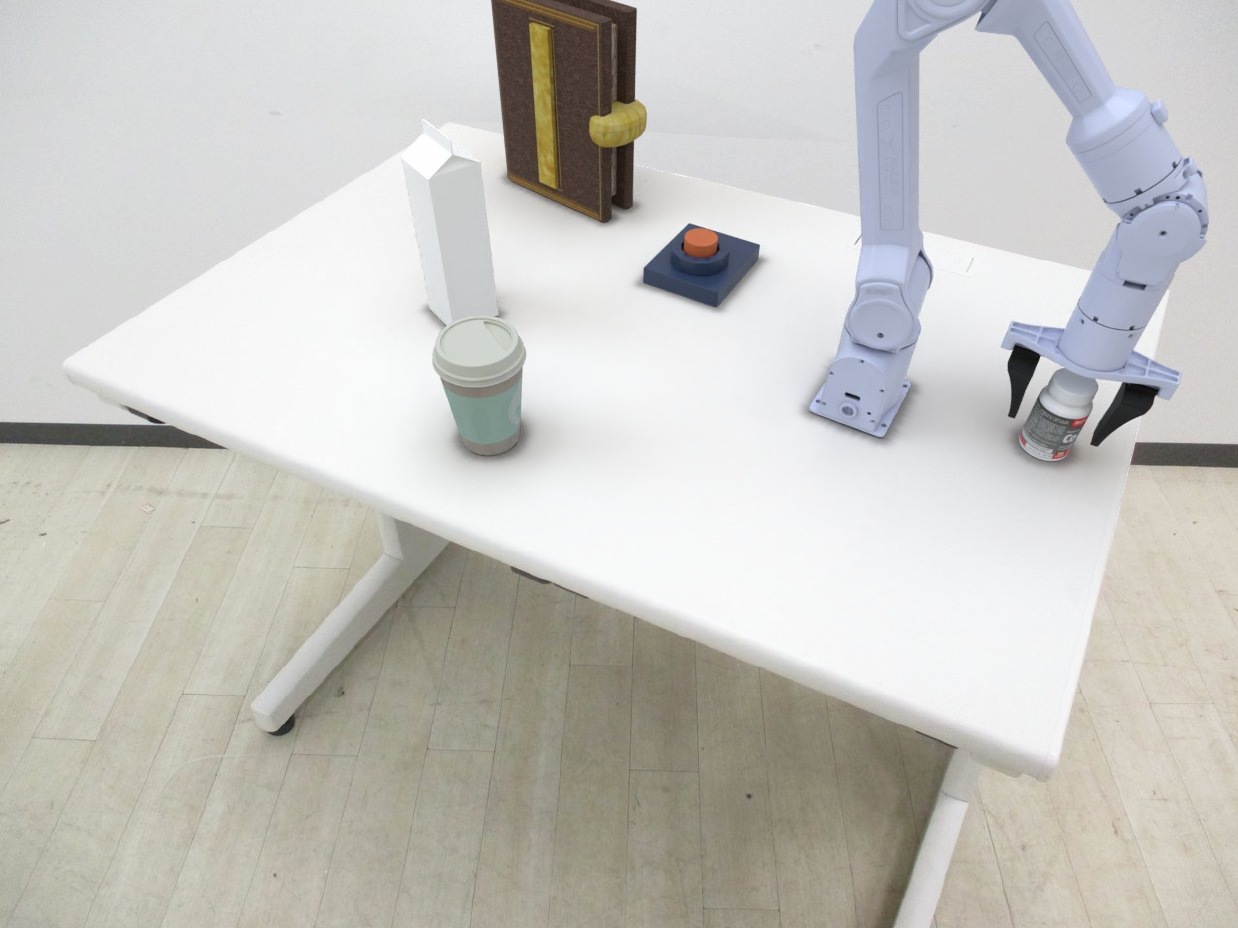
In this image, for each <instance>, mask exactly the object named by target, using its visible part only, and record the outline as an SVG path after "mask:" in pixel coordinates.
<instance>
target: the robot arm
mask: <svg viewBox="0 0 1238 928" xmlns="http://www.w3.org/2000/svg"><path fill="white" fill-rule="evenodd" d="M979 12H981V14H980V16H979V18H978V20H977V23H976V24H975V27H974V31H977V32H979V33H986V34H987V33H988V34H997V35H1006V36H1012V37H1014V38H1016V40H1017V41H1018V42H1019V44H1020V45H1021V47H1022V48H1023V50H1024V51H1025V52H1026V55H1028V57H1029V58H1030V59H1031V61H1032V62H1033V64H1034V65H1035V66H1036V68H1037V69H1038V71H1039V72H1040V73H1041V75H1042V76H1043V78H1044V79H1045V81H1046V82H1047V84H1049V86H1050V88H1051V89H1052V90H1053V92H1054V93H1055V94H1056V96H1057V98H1058V99H1059V100H1060V101H1061V103H1062V104H1063V106H1064V107H1065V108H1066V110H1067V111H1068V113H1069V114H1070V116H1071V117H1072V120H1071V123H1070V125H1069V127H1068V130H1067V133H1066V135H1065V143H1066V145H1067V147H1068V148H1069V150H1070V152H1071V153H1072V155H1073V156H1074V158H1075V160H1076V161H1077V162H1078V164H1079V166H1080V167H1081V169H1082V170H1083V172H1084V173H1085V175H1086V176H1087V179H1088V181H1090V183H1091V184H1092V186H1093V188H1094V189H1095V191H1096V192H1097V194H1098V196H1099V197H1100V199H1101V200H1102V203H1104V205H1105V206H1106V207H1107V208H1108V209H1109V210H1110V211H1112V212H1113V213H1115V215H1117V216H1118V217H1119V218H1120V222H1118V223H1117V224H1116V226H1115V228H1114V230H1113V231H1112V234H1111V236H1110V238H1109V240H1108V242H1107V245H1106V246H1105V248H1104V249H1103V250H1102V251H1101V253H1100V254H1099V257H1098V258H1097V261H1096V262H1095V265H1094V266H1093V269H1092V271H1091V273H1090V275H1089V277H1088V280H1087V281H1086V283H1085V286H1084V288H1083V290H1082V292H1081V294H1080V296H1079V298H1078V300H1077V302H1076V305H1075V307H1074V309H1073V311H1072V312H1071V315H1070V317H1069V319H1068V321H1067V323H1066V326H1064V328H1063V327H1055V326H1046V325H1038V324H1037V325H1036V324H1030V323H1024V322H1020V321H1017V320H1016V321H1015V320H1011V321H1010V324H1009V326H1008V328H1007V330H1006V333H1005V334H1004V337H1003V339H1002V341H1001V342H1002V343H1001V344H1000V349H1004V350H1007V351H1011V352H1010V355H1009V358H1008V360H1007V369H1006V370H1007V374H1008V378H1009V383H1010V405H1009V410H1008V413H1007V417H1008V418H1011V419H1013V420H1015V419H1016V417H1017V415H1018V413H1019V410H1020V408H1021V405H1022V403H1023V400H1024V397H1025V394H1026V391H1027V389H1028V387H1029V385H1030V383H1031V381H1032V379H1033V377H1034V374H1035V372H1036V369H1037V366H1038V364H1039V362H1040V360H1041V357H1042V358H1045V359H1048V360H1050V361H1052V362H1053V363H1055V364H1057V365H1059V366H1061V367H1062V368H1066V369H1068V370H1070V371H1072V372H1074V373H1076V374H1078V375H1081V376H1084V377H1088V378H1093V379H1095V380H1102V381H1109V382H1118V383H1120V387H1119V389H1118V390H1117V392H1116V394H1115V396H1114V398H1113V399H1112V402H1111V403H1110V405H1109V407H1108V408H1107V409H1106V411H1105V412H1104V414H1103V415H1102V417H1101V418H1100V420H1099V421H1098V422H1097V425H1096V427H1095V429H1094V431H1093V433H1092V437H1091V440H1090V444H1089V445H1090V446H1093V447H1095V448H1098V447H1099V446H1100V445H1101V444H1102V443H1103V442H1104V440H1106V439H1107V438H1108V437H1109V436H1110V435H1111V434H1112V433H1114V432H1116V431H1117V430H1118V429H1119V428H1121V427H1122V426H1124V425H1125V424H1127V423H1128V422H1131V421H1132V420H1134V419H1137V418H1139V417H1142V416H1144V415H1146V414H1147V413H1148V412H1149V411H1150V410H1151V409H1152V407H1153V406H1154V404H1155V403H1154V402H1155V398H1156V397H1157V398H1159V399H1161V400H1166V401H1170V400H1171V399H1172V397H1173V396H1174V394H1175V392H1176V391H1177V390H1178V387H1179V386H1180V384H1181V379H1182V374H1183V372H1182V371H1180V370H1177V369H1175V368H1172V367H1170V366H1167V365H1164V364H1162V363H1160V362H1158V361H1156V360H1154V359H1152V358H1150V357H1148V356H1146V355H1145V354H1143V353H1140V352H1138V351H1137V350H1136V349H1135V348H1136V346H1137V345H1138V342H1139V341H1140V339H1141V337H1142V335H1143V334H1144V332H1145V330H1146V328H1147V327H1148V325H1149V323H1150V321H1151V320H1152V318H1153V316H1154V314H1155V312H1156V311H1157V309H1158V307H1159V306H1160V303H1161V302H1162V300H1163V298H1164V296H1165V294H1166V292H1167V291H1168V289H1169V288H1170V285H1171V284H1172V282H1173V280H1174V278H1175V274H1176V272H1177V270H1178V268H1179V266H1180V265H1181V263H1184V262H1186V261H1188V260H1189V259H1191V258H1192V257H1195V255H1197V254H1198V253H1199V252H1200V251H1201V250H1203V248H1204V246H1205V245H1206V244H1207V242H1208V240H1207V239H1206V237H1205V236H1206V235H1207V232H1208V230H1209V224H1210V220H1209V217H1210V216H1209V204H1208V203H1209V201H1208V190H1207V186H1206V183H1205V180H1204V179H1203V175H1204V174H1203V171H1202V169H1201V168H1199V167H1198V165H1197V163H1196V161H1195V159H1194V158H1193V157H1192V156H1187V157H1185V158H1184V157H1183V154H1182V153H1181V152H1180V149H1178V146H1177V145H1176V143H1175V141H1174V140H1173V138H1172V136H1171V135H1170V133H1169V131H1168V130H1167V127H1166V126H1165V124H1164V123H1166V122H1168V120H1169V110H1168V109H1167V107H1166V105H1165V103H1164V102H1163V99H1157V100H1155V101H1153V102H1151V101H1150V99H1149V98H1148V96H1147V94H1146V93H1145V92H1144V91H1143V90H1141V89H1136V88H1130V87H1123V86H1119V85H1116V84H1115V82H1114V80H1113V78H1112V76H1111V74H1110V73H1109V71H1108V69H1107V67H1106V65H1105V63H1104V62H1103V59H1102V58H1101V55H1100V54H1099V52H1098V50H1097V48H1096V47H1095V45H1094V43H1093V41H1092V39H1091V37H1090V36H1089V33H1088V32H1087V30H1086V29H1085V28H1086V27H1085V26H1084V24H1083V22H1082V20H1081V18H1080V17H1079V15H1078V13H1077V12H1076V9H1075V8H1074V5H1073V4H1072V2H1071V1H1070V0H873V2H872V3H871V4H870V7H869V8H868V10H867V12H866V14H865V16H864V17H863V19H862V21H861V22H860V24H859V26H858V28H857V29H856V32H855V33H854V37H853V46H852V47H853V49H852V50H853V71H854V95H855V96H854V97H855V116H856V117H855V118H856V119H855V121H856V143H857V145H856V146H857V165H858V186H859V187H858V189H859V190H858V191H859V213H860V214H859V215H860V216H859V217H860V235H861V236H860V237H861V246H860V253H859V258H858V263H857V267H856V268H857V269H856V275H855V281H854V285H855V293H854V297H853V300H852V301H851V303H850V305H849V307H848V309H847V311H846V315H845V317H844V322H843V325H842V330H841V334H840V338H839V343H838V347H837V351H836V354H835V357H834V358H833V360H832V361H831V363H830V365H829V367H828V370H827V372H826V373H827V374H826V378H825V382H824V383H823V385H822V386H821V387H820V389H819V391H818V392H817V394H816V395H815V397H814V398H813V400H812V402H811V404H810V405H809V409H808V410H809V411H810V412H811V413H813V414H815V415H818V416H821V417H824V418H826V419H830V420H832V421H835V422H837V423H840V424H842V425H845V426H847V427H851V428H853V429H856V430H859V431H862V432H864V433H867V434H870V435H873V436H875V437H878V438H884V437H885V435H886V433H887V432H888V430H889V428H890V426H891V425H892V423H893V420H894V419H895V417H896V415H897V413H898V412H899V410H900V407H901V406H902V404H903V402H904V400H905V398H906V396H907V394H908V392H909V391H910V389H911V386H912V383H911V382H910V381H909V380H906V377H907V373H908V371H909V368H910V364H911V362H912V360H913V356H914V353H915V350H916V347H917V344H918V341H919V337H920V335H921V332H922V331H921V330H922V324H921V322H920V318H919V317H920V313H921V310H922V308H923V304H924V303H925V302H924V301H925V298H926V295H927V292H928V290H929V289H930V288H931V286H932V283H933V281H934V267H933V264H932V261H931V260H930V258H929V257H928V255H927V253H926V250H925V247H924V233H923V231H922V230H921V229H920V227H919V226H920V223H919V222H920V220H919V219H920V216H919V215H920V53H921V52H922V51H923V50H924V49H926V48H927V46H928V45H930V44H931V42H933V40H935V38H937V37H938V35H939V34H941V33H942V32H943V33H944V32H945V31H947V30H950V29H951V28H954V27H955V26H957V25H959V24H962V23H964V22H965V21H967V20H968V19H969V20H970V18H972V17H974V16H975V15H977V14H978V13H979ZM1134 349H1135V350H1134Z"/></svg>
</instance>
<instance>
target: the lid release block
mask: <svg viewBox="0 0 1238 928" xmlns="http://www.w3.org/2000/svg"><path fill="white" fill-rule="evenodd" d="M697 228H703V229H708V230H711V231H713V232H714V233H716V234H717V236H718V244H717V252H716V254H715V255H713V256H710V257H694V256H691V255H687V254H686V253H685V252H684V236H685V234H686V233H687V232H688V231H690V230H692V229H697ZM760 249H761V244H760V243H757V242H753V241H750V240H746V239H743V238H740V237H736V236H733V235H730V234H727V233H723V232H720V231H717V230H713V229H710V228H706V227H704V226H701V225H698V224H697V225H696V224H694V223H690V222H689V223H688V224H686V226H684V227H683V229H681V230H680V232H678V233H677V234H676V235H675V236H674V237H673V238H672V239H671V240H670V241H669V242H668V243H667V244H666V245H665V246H664V247H663V248H662V249H661V250H660V251H659V252H658V253H657V254H656V255H655V256H654V257H652V259H651V260H650V261H649V262H648V263H646V264H645V266H644V267H643V274H642V277H643V278H642V283H643V284H645V285H649V286H650V287H654V288H657V289H660V290H663V291H666V292H669V293H672V294H676V295H678V296H681V297H683V298H687V299H690V300H692V301H695V302H698V303H702V304H704V305H708V306H710V307H713V308H718V307H719V306H720V304H721V303H722V302H723V301H724V300H725V299H726V298H727V296H728V295H729V294H730V293H731V292H732V290H734V289H735V287H736V286H737V285H738V284H739V283H740V281H741V280H742V279H743V278H744V277H745V276H746V274H747V273H749V271H750V270H751V269H752V267H753V266H754V265H755V264H756V263H757V262H758V260H759V256H760V251H761V250H760Z"/></svg>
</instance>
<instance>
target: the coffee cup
mask: <svg viewBox="0 0 1238 928" xmlns="http://www.w3.org/2000/svg"><path fill="white" fill-rule="evenodd" d="M434 343H435V344H434V347H433V349H432V354H431V355H432V359H431V364H432V368H433V370H434V371H435V373H436V374H437V375H438V376H439V378H440V381H441V385H442V387H443V390H444V393H445V397H446V399H447V402H448V404H449V407H450V411H451V413H452V415H453V419H454V422H455V425H456V427H457V430H458V433H459V436H460V438H461V442H462V444H463V445H464V447H465V448H466V450H468V451H470V452H471V453H474V454H476V455H478V456H479V455H480V456H497V455H500V454H503V453H505V452H508V451H510V450H511V449H512V448H513V447H514V446H516V444H517V443H518V442H519V439H520V436H521V422H522V421H521V419H522V418H521V417H522V396H523V371H524V364H525V362H526V360H527V349H526V346H525V343H524V340H523V339H522V337H521V336H520V335H519V333H518V331H517V329H516V328H515V326H514V325H512V324H511V323H510V322H508V321H506V320H505V319H502V318H500V317H498V316H496V317H492V316H470V317H465V318H462V319H459V320H456V321H454V322H452V323H450V324H449V325H447V326H446V325H445V327H443V328H442V329H441V330H440V331H439V333H438V334H437V336H436V338H435V342H434Z"/></svg>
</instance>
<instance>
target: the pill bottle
mask: <svg viewBox="0 0 1238 928" xmlns="http://www.w3.org/2000/svg"><path fill="white" fill-rule="evenodd" d="M1098 391H1099V384H1098V382H1097V379H1093V378H1088V377H1084V376H1081V375H1078V374H1076V373H1074V372H1072V371H1070V370H1068V369H1066V368H1064V367H1062V368H1058V369H1057V370H1055V371H1054V372H1053V373H1052V375H1051V378H1050V379H1049V380H1048V383H1047V384H1046V385H1045V386H1044V387H1043V388H1041V390H1040V392H1039V394H1038V396H1037V398H1036V400H1035V402H1034V404H1033V406H1032V408H1031V410H1030V413H1029V415H1028V416H1027V418H1026V421H1025V422H1024V425H1023V426H1022V427H1023V428H1022V429H1021V432H1020V433H1019V436H1018V441H1019V445H1020V447H1021V448H1022V449H1023V450H1024V451H1025V452H1026V453H1027V454H1028V455H1030V456H1032V457H1034V458H1036V459H1038V460H1040V461H1041V460H1042V461H1045V462H1057V461H1061V460H1063V459H1065V458H1066V457H1067V456H1068V454H1069V453H1070V451H1071V450H1072V447H1073V446H1074V444H1075V442H1076V441H1077V438H1078V437H1079V435H1080V433H1081V431H1082V430H1083V428H1084V426H1085V424H1086V422H1087V420H1088V419H1089V417H1090V415H1091V413H1092V411H1093V409H1094V408H1093V407H1094V403H1093V400H1094V399H1095V397H1096V394H1097V392H1098Z"/></svg>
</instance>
